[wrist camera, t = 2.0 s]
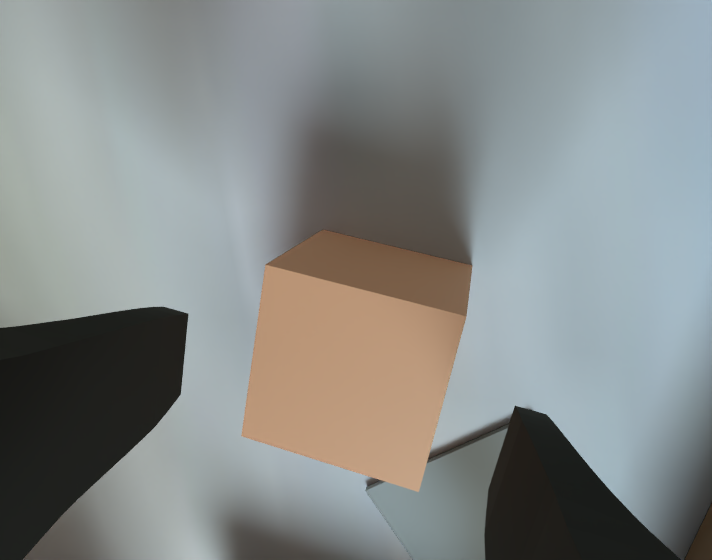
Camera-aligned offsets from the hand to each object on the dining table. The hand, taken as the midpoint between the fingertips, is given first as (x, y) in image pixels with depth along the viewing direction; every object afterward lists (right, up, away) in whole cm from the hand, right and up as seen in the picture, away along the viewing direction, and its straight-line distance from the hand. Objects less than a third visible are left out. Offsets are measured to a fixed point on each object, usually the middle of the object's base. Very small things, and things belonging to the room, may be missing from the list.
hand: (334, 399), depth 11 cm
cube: (+1, +1, +5) cm, 6 cm away
